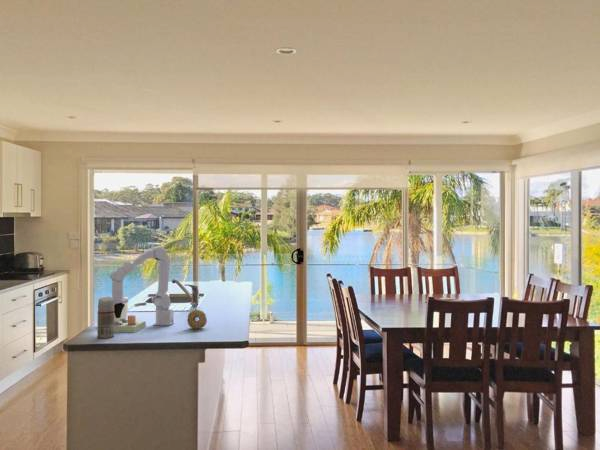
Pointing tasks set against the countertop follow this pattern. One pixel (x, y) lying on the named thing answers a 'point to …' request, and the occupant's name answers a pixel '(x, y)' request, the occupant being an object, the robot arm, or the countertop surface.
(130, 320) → the terracotta plug
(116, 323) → the grey plug
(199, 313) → the mottled brown donut
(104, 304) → the spray can
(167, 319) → the robot arm
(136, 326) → the socket board
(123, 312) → the jar
